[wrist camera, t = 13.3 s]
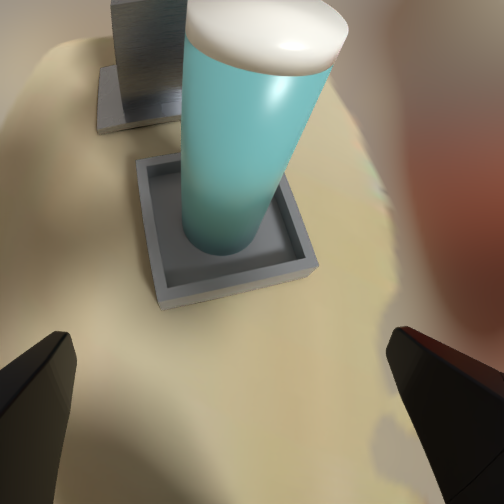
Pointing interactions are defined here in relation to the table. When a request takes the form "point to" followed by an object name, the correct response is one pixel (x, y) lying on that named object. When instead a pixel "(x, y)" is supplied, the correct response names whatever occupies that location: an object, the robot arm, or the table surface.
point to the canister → (247, 108)
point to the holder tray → (210, 266)
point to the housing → (143, 65)
